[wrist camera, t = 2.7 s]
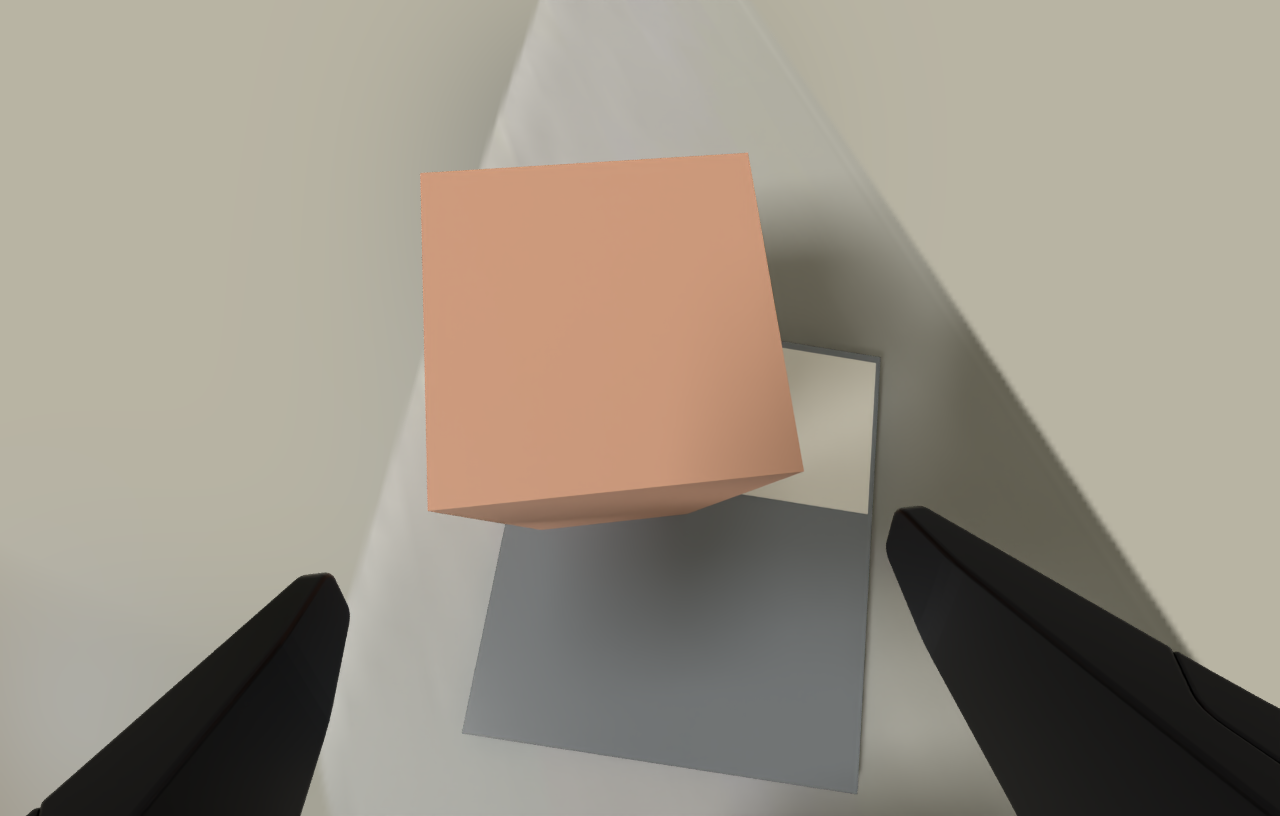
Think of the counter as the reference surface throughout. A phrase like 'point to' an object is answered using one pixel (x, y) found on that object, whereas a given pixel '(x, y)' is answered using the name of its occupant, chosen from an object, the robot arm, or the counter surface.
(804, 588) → the baseplate
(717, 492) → the column
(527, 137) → the counter surface
